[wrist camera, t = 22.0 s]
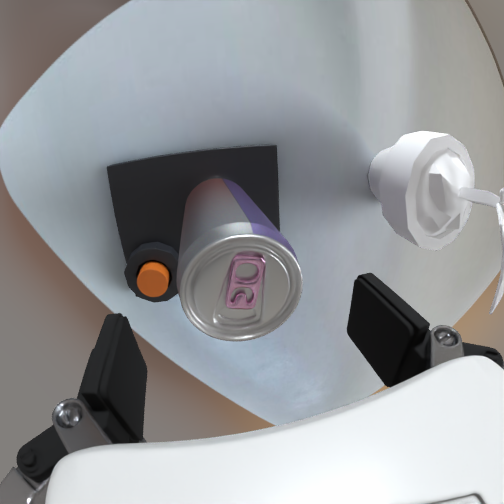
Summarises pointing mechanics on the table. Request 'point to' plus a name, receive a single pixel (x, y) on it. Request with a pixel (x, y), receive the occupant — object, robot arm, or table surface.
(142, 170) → the push button plate
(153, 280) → the button
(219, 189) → the beverage can
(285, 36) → the table surface
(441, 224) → the potted plant
